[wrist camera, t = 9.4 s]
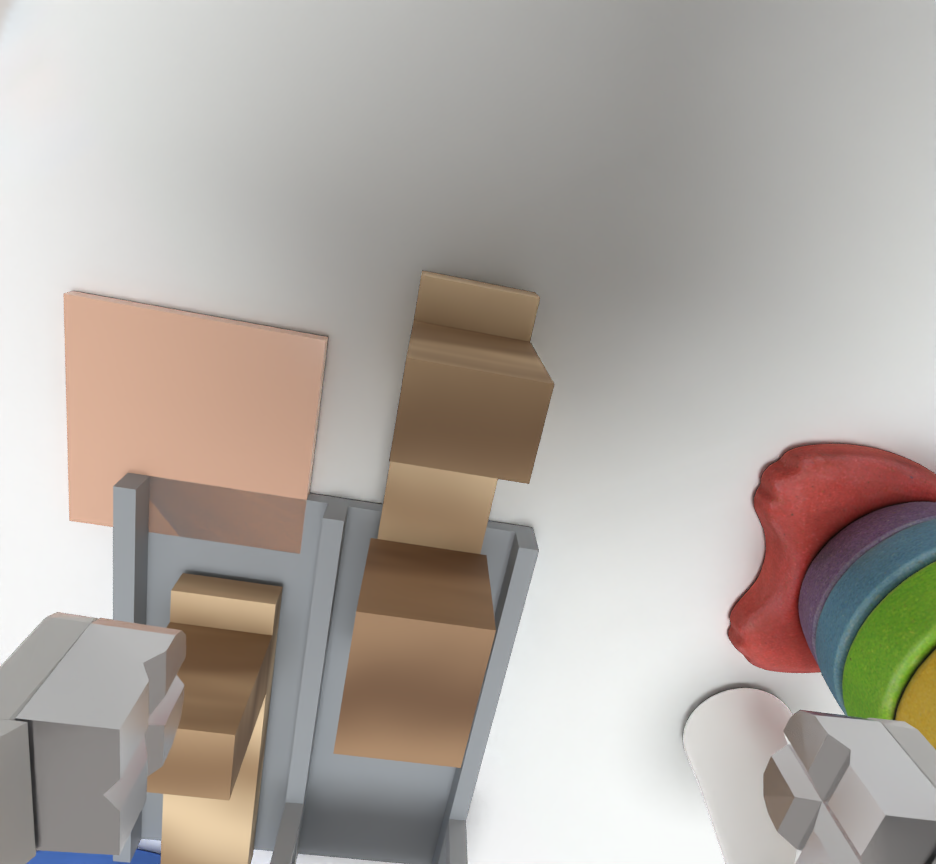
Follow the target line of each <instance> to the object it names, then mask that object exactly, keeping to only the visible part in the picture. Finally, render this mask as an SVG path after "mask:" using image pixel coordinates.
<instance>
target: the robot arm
mask: <svg viewBox="0 0 936 864" xmlns="http://www.w3.org/2000/svg"><path fill="white" fill-rule="evenodd" d="M185 658H186V634H185V633H184V632H183V631H182V630H177V629H170V628H164V627H157V626H150V625H144V624H137V623H131V622H124V621H118V620H111V619H105V618H100V619H97V618H93V617H86V616H80V615H73V614H66V613H60V612H57V613H54V614H52V615H50V616H48V617H46V618H45V619H43V620H42V622H41V623H40V624H39V625H38V626H37V627H36V628H35V629H34V630H33V631H32V632H31V634H30V635H29V636H28V637H27V638H26V639H25V640H24V641H23V642H22V643H21V644H20V646H19V647H18V648H17V649H16V650H15V651H14V652H13V653H12V654H11V655H10V656H9V658H8V659H7V660H6V661H5V662H4V663H3V664H2V665H1V666H0V864H26V863H27V862H29V861H30V860H31V859H32V858H33V857H35V856H36V850H40V851H56V852H73V853H89V854H105V855H120V854H121V852H122V849H123V847H124V845H125V843H126V841H127V839H128V837H129V835H130V833H131V831H132V829H133V827H134V825H135V823H136V821H137V818H138V816H139V814H140V812H141V810H142V808H143V806H144V804H145V802H146V799H147V777H148V776H149V775H151V774H152V773H153V772H155V771H156V770H158V769H159V768H161V767H162V766H163V764H164V762H165V760H166V758H167V755H168V753H169V751H170V749H171V747H172V744H173V741H174V738H175V735H176V732H177V729H178V725H179V722H180V719H181V713H182V707H183V702H184V687H185V685H184V684H183V682H182V681H181V680H180V678H179V677H178V676H177V673H178V671H179V669H180V667H181V665H182V663H183V661H184V660H185ZM783 732H784V735H785V738H786V741H787V745H786V746H785V747H783V748H782V749H780V750H779V751H777V752H776V753H774V754H773V755H771V757H770V760H769V762H768V764H767V767H766V769H765V772H764V774H763V796H764V800H765V804H766V808H767V812H768V814H769V816H770V818H771V820H772V822H773V824H774V826H775V828H776V830H777V832H778V833H779V834H780V835H781V836H782V837H784V838H785V839H786V840H787V841H788V842H789V843H790V844H791V845H792V846H793V847H795V848H796V849H797V851H796V858H795V864H936V750H935V749H934V747H933V746H932V745H931V744H930V743H929V742H928V741H927V739H926V738H925V737H924V736H923V735H922V734H921V733H920V731H919V730H917V729H916V728H914V727H913V726H911V725H909V724H908V723H906V722H905V721H896V720H886V719H877V718H862V717H854V716H846V715H837V714H829V713H821V712H813V711H804V710H799V711H798V712H797V713H795V714H794V715H792V716H791V717H790V719H789V721H788V722H787V724H786V726H785V728H784V730H783Z"/></svg>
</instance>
